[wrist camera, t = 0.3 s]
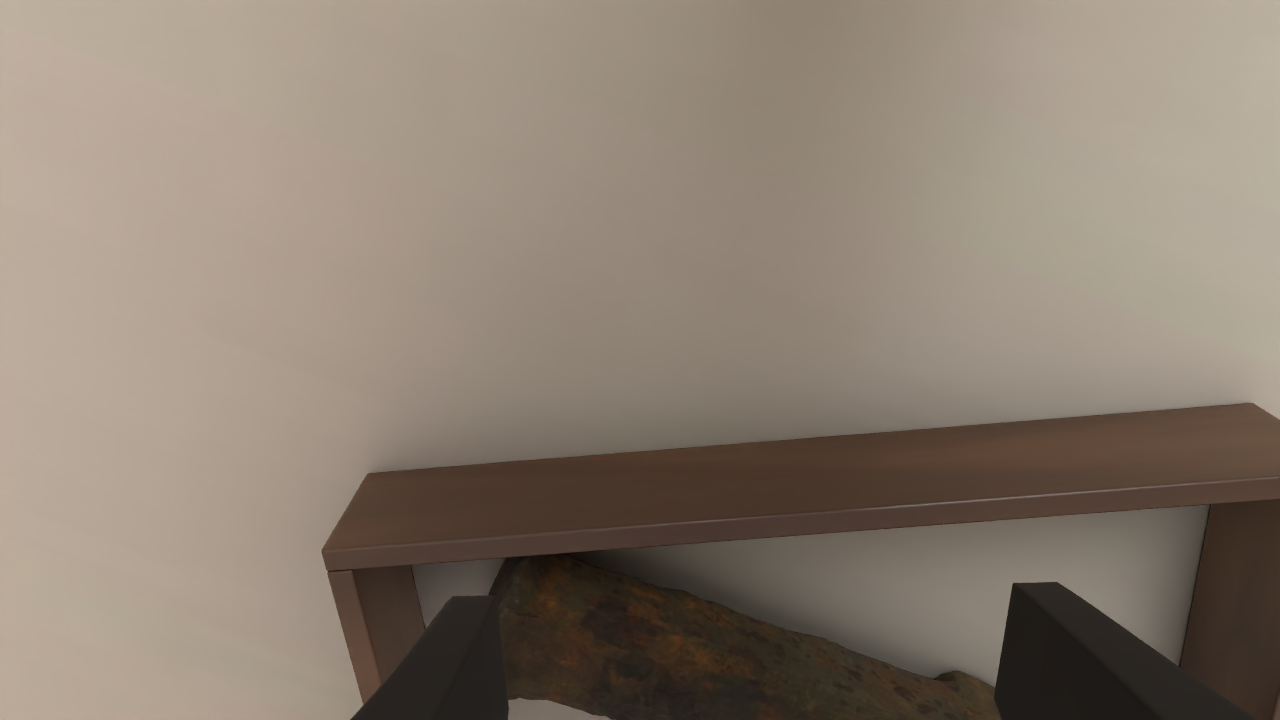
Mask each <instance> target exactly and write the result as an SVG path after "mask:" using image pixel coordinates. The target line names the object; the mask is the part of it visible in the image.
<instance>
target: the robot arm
mask: <svg viewBox="0 0 1280 720" xmlns="http://www.w3.org/2000/svg"><path fill="white" fill-rule="evenodd" d="M994 700H995V703H996V706H997V709H998V711H999V714H1000V717H1001V720H1259V719H1257V718H1255V717H1254V716H1252V715H1251V714H1249V713H1247V712H1246V711H1244V710H1243V709H1241V708H1240V707H1238V706H1236V705H1235V704H1233V703H1232V702H1230V701H1229V700H1227V699H1226V698H1224V697H1223V696H1221V695H1220V694H1218V693H1217V692H1215V691H1214V690H1212V689H1211V688H1209V687H1208V686H1206V685H1205V684H1203V683H1202V682H1200V681H1199V680H1197V679H1196V678H1195V677H1193V676H1192V675H1190V674H1189V673H1187V672H1186V671H1184V670H1183V669H1181V668H1180V667H1179V666H1177V665H1176V664H1174V663H1173V662H1171V661H1170V660H1168V659H1167V658H1166V657H1164V656H1163V655H1161V654H1160V653H1158V652H1157V651H1156V650H1154V649H1153V648H1151V647H1150V646H1149V645H1147V644H1146V643H1144V642H1143V641H1141V640H1140V639H1139V638H1137V637H1136V636H1134V635H1133V634H1132V633H1130V632H1129V631H1127V630H1126V629H1125V628H1123V627H1122V626H1120V625H1119V624H1118V623H1116V622H1115V621H1113V620H1112V619H1111V618H1109V617H1108V616H1106V615H1105V614H1103V613H1102V612H1101V611H1099V610H1098V609H1096V608H1095V607H1094V606H1092V605H1091V604H1089V603H1088V602H1086V601H1085V600H1083V599H1082V598H1081V597H1079V596H1078V595H1076V594H1075V593H1073V592H1072V591H1070V590H1069V589H1067V588H1065V587H1064V586H1062V585H1061V584H1059V583H1058V582H1043V583H1013V585H1012V591H1011V597H1010V603H1009V610H1008V616H1007V622H1006V628H1005V634H1004V640H1003V646H1002V652H1001V658H1000V664H999V670H998V676H997V682H996V688H995V694H994ZM508 711H509V707H508V698H507V689H506V680H505V671H504V662H503V653H502V644H501V635H500V626H499V617H498V608H497V599H496V595H495V596H453V597H452V598H451V599H450V600H449V601H448V602H447V603H446V604H445V605H444V606H443V608H442V609H441V610H440V612H439V613H438V614H437V615H436V617H435V618H434V619H433V621H432V622H431V623H430V625H429V626H428V627H427V628H426V630H425V631H424V632H423V634H422V635H421V636H420V637H419V639H418V640H417V641H416V643H415V644H414V645H413V646H412V648H411V649H410V650H409V651H408V653H407V654H406V655H405V656H404V658H403V659H402V660H401V661H400V663H399V664H398V665H397V666H396V667H395V669H394V670H393V671H392V672H391V673H390V675H389V676H388V677H387V678H386V679H385V680H384V682H383V683H382V684H381V685H380V686H379V688H378V689H377V690H376V691H375V692H374V693H373V695H372V696H371V697H370V698H369V699H368V701H367V702H366V703H365V704H364V705H363V706H362V707H361V709H360V710H359V711H358V712H357V713H356V714H355V715H354V716H353V717H352V718H351V720H508Z"/></svg>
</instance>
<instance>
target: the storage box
mask: <svg viewBox="0 0 1280 720" xmlns="http://www.w3.org/2000/svg"><path fill="white" fill-rule="evenodd" d="M1206 504H1211V509H1210V514H1209V519H1208V524H1207V529H1206V535H1205V540H1204V545H1203V550H1202V555H1201V561H1200V566H1199V571H1198V576H1197V582H1196V587H1195V592H1194V597H1193V602H1192V608H1191V613H1190V618H1189V623H1188V628H1187V634H1186V639H1185V644H1184V649H1183V655H1182V660H1181V665H1180V668H1181V669H1183V670H1184V671H1186V672H1187V673H1189V674H1190V675H1192V676H1193V677H1195V678H1196V679H1197V680H1199V681H1200V682H1202V683H1203V684H1205V685H1206V686H1208V687H1209V688H1211V689H1212V690H1214V691H1215V692H1217V693H1218V694H1220V695H1221V696H1223V697H1224V698H1226V699H1227V700H1229V701H1230V702H1232V703H1233V704H1235V705H1236V706H1238V707H1240V708H1241V709H1243V710H1244V711H1246V712H1247V713H1249V714H1251V715H1252V716H1254V717H1255V718H1257V719H1259V720H1280V420H1279V419H1278V418H1276V417H1274V416H1273V415H1271V414H1270V413H1268V412H1266V411H1265V410H1263V409H1261V408H1260V407H1258V406H1257V405H1255V404H1253V403H1247V404H1235V405H1222V406H1210V407H1197V408H1185V409H1172V410H1159V411H1147V412H1134V413H1122V414H1109V415H1097V416H1084V417H1071V418H1059V419H1046V420H1034V421H1021V422H1009V423H996V424H983V425H971V426H958V427H946V428H933V429H921V430H908V431H895V432H883V433H870V434H858V435H845V436H833V437H820V438H808V439H795V440H782V441H770V442H757V443H745V444H732V445H720V446H707V447H694V448H682V449H669V450H657V451H644V452H632V453H619V454H606V455H594V456H581V457H569V458H556V459H544V460H531V461H518V462H506V463H493V464H481V465H468V466H456V467H443V468H430V469H418V470H405V471H393V472H380V473H369V474H367V475H366V477H365V479H364V480H363V482H362V484H361V485H360V487H359V489H358V490H357V492H356V494H355V495H354V497H353V499H352V500H351V502H350V504H349V505H348V507H347V509H346V510H345V512H344V514H343V515H342V517H341V519H340V520H339V522H338V524H337V525H336V527H335V529H334V530H333V532H332V534H331V535H330V537H329V539H328V540H327V542H326V544H325V545H324V547H323V549H322V555H323V559H324V562H325V566H326V569H327V571H328V578H329V581H330V585H331V588H332V592H333V596H334V599H335V603H336V607H337V610H338V614H339V618H340V621H341V625H342V629H343V632H344V636H345V639H346V643H347V647H348V650H349V654H350V658H351V661H352V665H353V669H354V672H355V676H356V679H357V683H358V687H359V690H360V694H361V698H362V701H363V705H364V704H365V703H366V702H367V701H368V699H369V698H370V697H371V696H372V695H373V693H374V692H375V691H376V690H377V689H378V688H379V686H380V685H381V684H382V683H383V682H384V680H385V679H386V678H387V677H388V676H389V675H390V673H391V672H392V671H393V670H394V669H395V667H396V666H397V665H398V664H399V663H400V661H401V660H402V659H403V658H404V656H405V655H406V654H407V653H408V651H409V650H410V649H411V648H412V646H413V645H414V644H415V643H416V641H417V640H418V639H419V637H420V636H421V635H422V634H423V632H424V631H425V628H424V623H423V619H422V615H421V610H420V606H419V602H418V597H417V593H416V588H415V584H414V580H413V575H412V571H411V567H410V565H415V564H429V563H442V562H455V561H468V560H481V559H494V558H508V557H521V556H534V555H547V554H560V553H574V552H587V551H600V550H613V549H626V548H639V547H653V546H666V545H679V544H692V543H705V542H718V541H732V540H745V539H758V538H771V537H784V536H798V535H811V534H824V533H837V532H850V531H863V530H877V529H890V528H903V527H916V526H929V525H943V524H956V523H969V522H982V521H995V520H1008V519H1022V518H1035V517H1048V516H1061V515H1074V514H1088V513H1101V512H1114V511H1127V510H1140V509H1153V508H1167V507H1180V506H1193V505H1206Z"/></svg>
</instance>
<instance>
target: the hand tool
mask: <svg viewBox="0 0 1280 720" xmlns="http://www.w3.org/2000/svg"><path fill="white" fill-rule="evenodd" d="M495 595H496V599H497V608H498V617H499V626H500V635H501V644H502V653H503V662H504V671H505V680H506V689H507V698H508V700H512V699H517V698H523V699H530V700H550V701H553V702H556V703H560V704H563V705H566V706H569V707H572V708H576V709H579V710H582V711H585V712H587V713H590V714H592V715H598V716H607V717H608V718H610V719H612V720H1001V717H1000V714H999V711H998V709H997V706H996V703H995V700H994V694H995V688H994V687H992V686H990V685H988V684H986V683H984V682H983V681H981V680H979V679H977V678H974V677H972V676H970V675H967V674H965V673H963V672H960V671H953V672H950V673H946V674H942V675H941V676H940V677H939V678H938V679H937V680H934V679H931V678H927V677H924V676H920V675H917V674H914V673H911V672H908V671H905V670H902V669H899V668H896V667H894V666H892V665H889V664H887V663H885V662H882V661H879V660H876V659H873V658H870V657H867V656H864V655H862V654H859V653H856V652H854V651H851V650H848V649H846V648H844V647H842V646H840V645H838V644H836V643H833V642H830V641H828V640H826V639H825V638H821V637H817V636H812V635H807V634H801V633H797V632H793V631H789V630H786V629H783V628H780V627H777V626H774V625H772V624H769V623H766V622H763V621H760V620H757V619H754V618H751V617H748V616H746V615H743V614H740V613H737V612H735V611H733V610H730V609H728V608H726V607H724V606H722V605H720V604H717V603H714V602H710V601H705V600H702V599H700V598H698V597H696V596H694V595H692V594H690V593H688V592H686V591H682V590H675V589H668V588H662V587H658V586H655V585H652V584H648V583H646V582H644V581H642V580H640V579H638V578H634V577H630V576H625V575H621V574H617V573H614V572H611V571H608V570H604V569H601V568H598V567H595V566H592V565H589V564H586V563H583V562H581V561H578V560H575V559H573V558H570V557H568V556H565V555H563V554H562V553H560V554H547V555H534V556H521V557H508V558H505V561H504V563H503V565H502V567H501V569H500V571H499V573H498V575H497V577H496V578H495V581H494V583H493V585H492V588H491V590H490V592H489V595H488V596H495Z"/></svg>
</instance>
